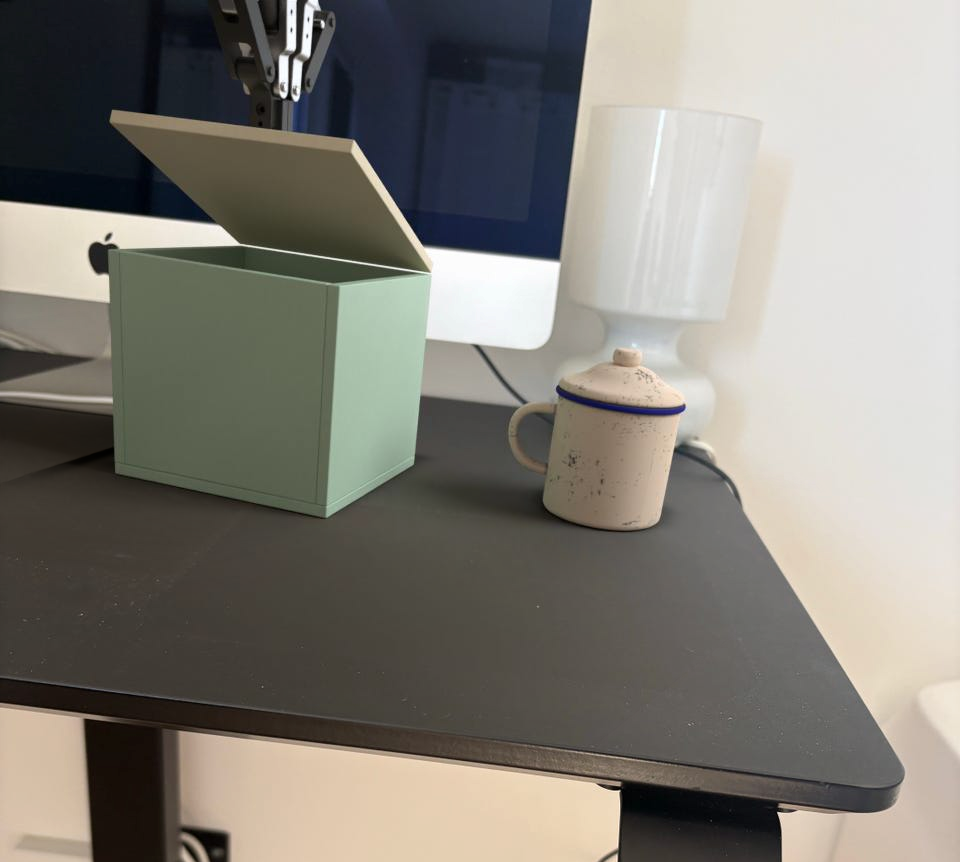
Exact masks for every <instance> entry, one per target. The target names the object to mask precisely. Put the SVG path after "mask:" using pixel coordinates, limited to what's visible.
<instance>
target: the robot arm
mask: <svg viewBox="0 0 960 862" xmlns="http://www.w3.org/2000/svg"><path fill="white" fill-rule="evenodd" d="M206 2H207V6H208V8H209V12H210V15H211V19H212V22H213V26H214V28H215V31H216V35H217V38H218V41H219V45H220V48H221V52H222V55H223V57H224V61H225V65H226V68H227V71H228V74H229V76H230V78H231V79H233V80H240V81H241V82H242V87H243V91H244V93H245V94H246V95H249V127H255V128H263V129H271V130H279V131H287V132H293V125H294V102H295V103H296V102H297V103H298V102H299V100H300V97H301V94H311V93H312V91H313V88H314V86H315V83H316V81H317V78H318V76H319V73H320V71H321V67H322V65H323V62H324V59H325V57H326V54H327V52H328V49H329V46H330V43H331V41H332V38H333V35H334V33H335V29H336V16H335V13H334V12H333V11H329V10H322V9H321V6H320V4H319V0H206Z"/></svg>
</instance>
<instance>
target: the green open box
mask: <svg viewBox="0 0 960 862" xmlns="http://www.w3.org/2000/svg"><path fill="white" fill-rule="evenodd" d="M107 257H108V258H107V259H108V260H107V261H108V289H109V294H108V295H109V323H110V324H109V325H110V352H111V353H110V355H111V358H110V359H111V385H112V386H111V387H112V417H113V418H112V419H113V421H112V422H113V448H114V449H113V451H114V472H115V474H117V475H121V476H125V477H130V478H135V479H139V480H145V481H148V482H153V483H158V484H163V485H168V486H173V487H177V488H182V489H187V490H192V491H195V492H201V493H204V494H205V493H206V494H211V495H215V496H220V497H224V498H229V499H233V500H237V501H242V502H246V503H247V502H248V503H253V504H258V505H261V506H267V507H272V508H275V509H281V510H284V511H285V510H286V511H291V512H294V513H299V514H303V515H309V516H313V517H314V516H315V517H318V518H322V519H327V518H329V517H330V516H332V515H334V514H335V513H337V512H339V511H340V510H342V509H344V508H345V507H347V506H349V505H350V504H352V503H354V502H355V501H357V500H359V499H360V498H362V497H364V496H365V495H366V494H368V493H370V492H371V491H373V490H375V489H377V488H378V487H380V486H381V485H383V484H385V483H386V482H388V481H389V480H391V479H393V478H394V477H396V476H398V475H399V474H401V473H402V472H404V471H407V470H408V469H409V468H411V467H413V466H414V465H415V454H416V447H417V446H416V445H417V435H418V434H417V433H418V427H419V426H418V424H419V416H420V415H419V413H420V405H421V403H420V402H421V395H422V394H421V392H422V383H423V373H424V372H423V370H424V361H425V351H426V350H425V349H426V341H427V340H426V339H427V329H428V318H429V308H430V299H431V297H430V296H431V287H432V274H431V273H425V272H419V271H412V270H406V269H399V268H392V267H386V266H379V265H373V264H366V263H360V262H353V261H347V260H340V259H333V258H327V257H320V256H314V255H307V254H301V253H294V252H288V251H281V250H274V249H268V248H261V247H255V246H248V245H213V246H212V245H209V246H208V245H207V246H180V247H175V246H174V247H143V248H142V247H141V248H139V247H137V248H135V247H134V248H109V249H108V250H107Z"/></svg>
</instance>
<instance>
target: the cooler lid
mask: <svg viewBox="0 0 960 862" xmlns="http://www.w3.org/2000/svg"><path fill="white" fill-rule="evenodd" d="M109 123H110V125H111V126H112V127H114V128H115V129H116V130H117V131H118V132H119V133H120V134H121V135H122V136H123V137H125V138H126V139H127V140H128V141H129V143H131V144H132V145H133V146H134V147H135V148H136V149H137V150H139V152H140V153H142V154H143V155H144V156H145V157H146V158H147V159H148V160H149V161H150V162H151V163H152V164H154V165H155V166H156V167H157V168H158V169H159V170H160V171H161V172H162V173H163V174H164V175H165V176H166V177H167V178H169V179H170V181H172V182H173V184H175V185H176V186H177V187H178V188H179V189H180V190H181V191H182V192H183V193H184V194H186V195H187V196H188V197H189V198H190V199H191V200H192V201H193V202H194V203H195V204H196V205H197V206H198V207H199V208H200V209H202V210H203V211H204V212H205V213H206V214H207V215H208V216H209V217H211V219H212V220H214V221H215V222H216V223H217V224H218V225H219V226H220V227H221V228H222V229H223V230H224V231H225V232H226V233H227V234H228V235H230V236H231V238H233V240H235V241H236V242H237V243H238V244H239V245H243V246H249V247H256V248H262V249H269V250H275V251H282V252H289V253H295V254H302V255H308V256H315V257H321V258H328V259H335V260H341V261H348V262H354V263H361V264H367V265H374V266H381V267H387V268H394V269H400V270H407V271H413V272H420V273H427V274H431V273H432V271H433V267H434V261H433V260H432V257H430V255H429V254H428V252H427V251H426V249H425V247H424V245H423V244H422V243H421V241H420V240H419V238H418V236H417V235H416V233H415V232H414V230H413V229H412V227H411V225H410V224H409V223H408V221H407V220H406V218H405V217H404V214H403V213H402V211H401V210H400V209H399V207H398V206H397V204H396V202H395V201H394V199H393V197H392V196H391V195H390V193H389V192H388V190H387V189H386V187H385V185H384V184H383V182H382V180H381V179H380V178H379V176H378V174H377V173H376V172H375V170H374V168H373V167H372V165H371V163H370V162H369V160H368V159H367V158H366V156H365V155H364V152H363V151H362V149H361V148H360V147H359V144H358V143H357V142H356V140H355V139H352V138H351V139H350V138H344V137H343V138H342V137H335V136H325V135H319V134H311V133H302V132H294V131H292V132H287V131H279V130H271V129H263V128H255V127H250V126H247V125H246V126H245V125H237V124H231V123H230V124H229V123H222V122H213V121H206V120H199V119H189V118H181V117H174V116H166V115H158V114H148V113H141V112H134V111H125V110H117V109H112V110H111V113H110V118H109Z"/></svg>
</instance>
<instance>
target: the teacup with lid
mask: <svg viewBox="0 0 960 862" xmlns="http://www.w3.org/2000/svg"><path fill="white" fill-rule="evenodd" d="M642 361H643V353H642V352H641V350H638V349H635V348H629V347H628V348H627V347H617V348H616V349H614V351H613V354H612V361H605V362H600V363H598V364H595V365H593V366H591V367H589V368H587V369H585V370H582V371H580V372H579V371H578V372H572V373H568V374H565V375H563V376H562V377H561V378H560V379H559V381H558V384H557V385H556V386H555V392H556V394H557V402H556V403H554V402H547V401H538V400H537V401H531V402H527V403H525V404H523V405H521V406H520V407H519V408H517V409H516V410H515V411H514V413H513V414H512V416H511V418H510V421H509V425H508V431H507V433H508V442H509V447H510V449H511V452H512V454H513V456H514V457H515V459H516V460H517V462H518V463H519V464H520V465H521V466H522V467H524V468H525V469H527V470H529V471H531V472H534V473H538V474H541V475H545V481H544V487H543V494H542V495H543V496H542V502H543V505H544V508H545V509H546V510H548V511H549V512H550V513H551V514H553V515H554V516H556V517H559V518H560V519H562V520H565V521H567V522H570V523H574V524H577V525H581V526H585V527H589V528H594V529H601V530H607V531H626V532H627V531H640V530H645V529H649V528H650V527H654V526H655V525H656V524H658V523H659V521H660V519H661V515H662V510H663V505H664V500H665V495H666V490H667V485H668V480H669V475H670V470H671V467H672V460H673V455H674V451H675V447H676V441H677V436H678V431H679V426H680V421H681V415H682V413H683V412H685V411H686V408H687V405H686V403H685V402H686V398H685V396H684V394H683V393H682V392H681V391H680V390H679V389H677V388H675V387H672V386H670V385H668V384H667V383H665V382H664V381H663V380H662V379H661V378H660V377H659V376H658V375H657V374H656V373H655V372H654V371H653V370H652V369H650V368H648V367H644V366H642V365H641V364H642V363H643V362H642ZM535 413H541V414H547V415H553V416H554V422H553V428H552V435H551V441H550V448H549V455H548V461H547V462H545V461H544V462H543V461H539V460H537V459H534V458H532V457H531V456H529V455H528V454H527V453H526V452H525V450H524V449H523V447H522V444H521V442H520V441H521V440H520V437H519V425H520V422H521V420H523V419H524V418H525V417H526V416H529V415H530V414H535Z"/></svg>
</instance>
